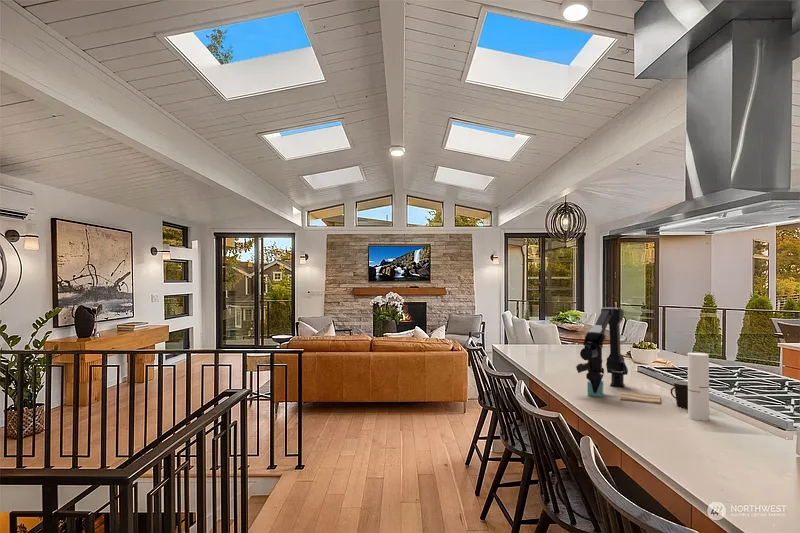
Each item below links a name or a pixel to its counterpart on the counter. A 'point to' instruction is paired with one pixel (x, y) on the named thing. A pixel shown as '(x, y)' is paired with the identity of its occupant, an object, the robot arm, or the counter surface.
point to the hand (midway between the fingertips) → (595, 391)
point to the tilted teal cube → (599, 390)
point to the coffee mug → (681, 393)
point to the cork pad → (640, 397)
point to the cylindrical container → (698, 386)
